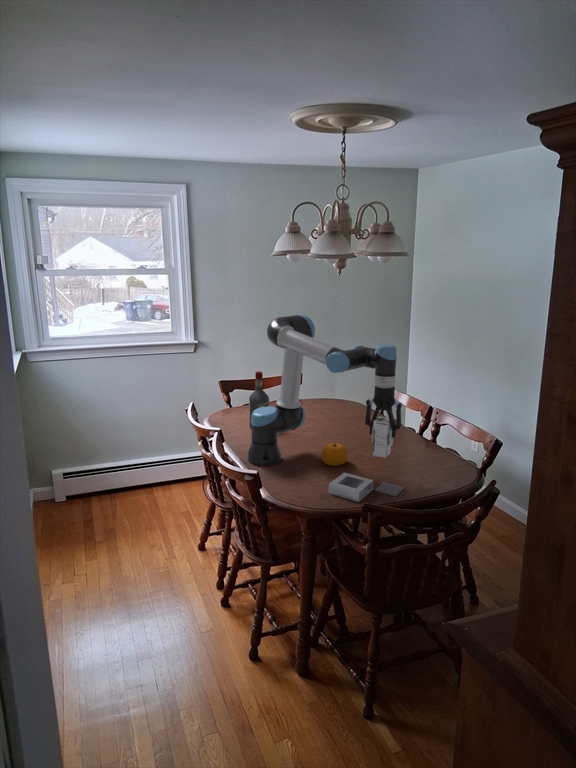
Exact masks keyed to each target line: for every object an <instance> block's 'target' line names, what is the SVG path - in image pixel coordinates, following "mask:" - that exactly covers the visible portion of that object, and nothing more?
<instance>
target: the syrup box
mask: <svg viewBox="0 0 576 768" xmlns="http://www.w3.org/2000/svg"><path fill="white" fill-rule="evenodd" d="M390 429H391V424H390V420H389V417H386V416H377V419H375V420H374V425H373V444H372V446H371V447H372V448H371V456H373V457H378V458H379V457H380V458H384V459H385V458H387V457H388V456H390V454H392V446H389V436H390Z"/></svg>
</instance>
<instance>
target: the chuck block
mask: <svg viewBox="0 0 576 768" xmlns="http://www.w3.org/2000/svg"><path fill="white" fill-rule="evenodd" d="M374 482H375V481H374V479H370V478H366V477H363V476H359V475H356V474H355V475H354V474H351V473H347V472H343V473H341V474H340V475H339V476H338V477H336V478H334V479H333V480H331V482H329V483H328V494H329V495H332V494H333V496H337V497H339V498H344V499H347V500H350V501H353V502H356V503H357V502H358V503H360V501H362V500H363V499H364V498H365V497H366V496H368V494H369V493H371V492H372V491H373V490H374Z"/></svg>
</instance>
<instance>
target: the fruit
mask: <svg viewBox="0 0 576 768" xmlns="http://www.w3.org/2000/svg"><path fill="white" fill-rule="evenodd" d="M347 451H348V450H347V449H346V448H345V447H344V446H343V445H342V444H340V443H336V441H334V442H333V443H328V444H326V445H325V446H324V447H323V449H322V450H321V453H320V456H321V460H322V462H323V463H324V464H325V465H327V466H331V467H339V466H341V465H343V464H345V463H346V461H347V460H348V457H349V455H348V452H347Z"/></svg>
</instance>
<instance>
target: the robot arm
mask: <svg viewBox="0 0 576 768" xmlns="http://www.w3.org/2000/svg"><path fill="white" fill-rule="evenodd" d="M266 334H267V338H268V339H269V341H270V342H271V343H272V344H273V345H274V346H277V348H280V349H284V351H283V363H282V370H281V371H282V372H281V373H282V374H281V384H280V392H279V398H278V399H277V400H276V402H275V407H274V406H270V405H269V406H266V407H260V408H257V409H256V410H254V411H253V412H252V416H251V428H250V429H251V435H250V436H251V443H250V447H249V449H248V452H247V461H248V463H251V464H253V465H255V466H262V467H263V466H266V467H267V466H272V465H277V464H279V463H280V462H281V461H282V453H281V450H280V447H279V444H278V443H279V442H278V435H281V434H284V433H287V432H291V431H295V430H297V429H299V428H302V426H303V425H304V422H305V420H306V412H305V409H304V407H303V406H302V403H301V401H300V390H301V389H300V388H301V380H302V371H303V363H304V356H305V357H307V358H310V359H312V360H314V361H317V362H319V363H320V364H323V365H325V366H326V367H327V369H328V370H329V372H331V373H334V374H338V373H339V374H340V373H344V372H348V371H352V370H358V369H361V368H369V369H374V370H375V372H374V373H375V374H374V385H375V386H374V391H373V392H374V394H373V398H368V399H366V401H365V404H366V412H365V421H364V424H365V425H366V426H368V427H369V435H370V436H371V444H372V445H373V425H374V420H375V419H377V418H378V417H379V416H378V415H379V413H380V411H385V412H386V414H387V416H388V417H387V418H389V420H390V424H391V429H390V436H389V446H391V447H392V446H393V445H394V444H393V443H394V439H395V438H396V436H397V430H400V428H402V406H403V403H402V402H398V401H397V400H396V399H395V398H396V397H395V393H396V391H395V390H396V386H395V385H396V368H397V358H398V357H397V347H396V345H393V344H389V343H387V344H386V343H382V344H377V345H376V346H375V348H372V347H368V346H363V345H353V346H352V347H351V348H350V349H346V350H345V349H341V348H338V347H336V346H333V345H332V344H328V343H327V342H323V341H321V340H319V339H316V338H314V337H315V335H316V327H315V324H314V322H313V321H312V319H311V317H309V316H307V315H305V314H296V315H288V316H287V315H286V316H278V317H276V318H273V319H272V320H271V321H270V322H269V324H268V326H267V329H266ZM373 403H374V405H375V410H374V413H373V414H372V405H373ZM393 406H395V412H396V416H395V417H394V412H393ZM371 415H373V416H372V418H371ZM395 418H396V419H395ZM395 420H396V421H395Z"/></svg>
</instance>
